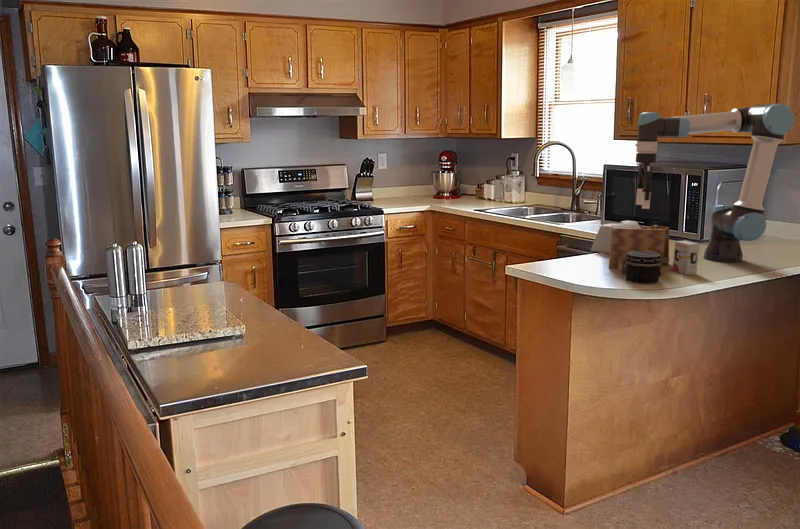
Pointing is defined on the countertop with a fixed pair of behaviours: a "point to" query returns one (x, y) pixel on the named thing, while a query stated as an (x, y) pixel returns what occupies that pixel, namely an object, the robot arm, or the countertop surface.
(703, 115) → the robot arm
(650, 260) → the container
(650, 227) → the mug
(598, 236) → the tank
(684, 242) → the ink box
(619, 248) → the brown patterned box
